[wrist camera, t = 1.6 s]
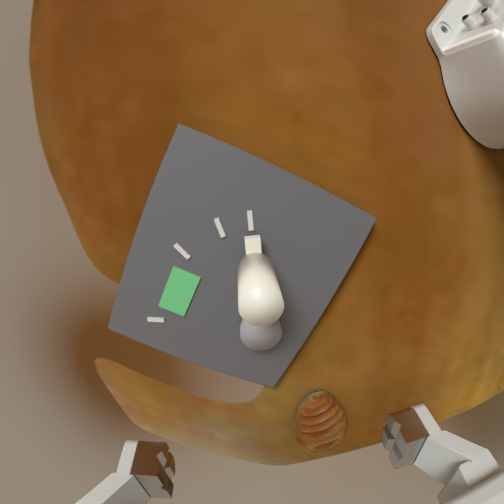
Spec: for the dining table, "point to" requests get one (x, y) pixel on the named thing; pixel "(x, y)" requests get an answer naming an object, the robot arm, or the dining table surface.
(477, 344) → the dining table surface
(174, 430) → the dining table surface
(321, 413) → the pastry
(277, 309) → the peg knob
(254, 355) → the dial plate
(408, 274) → the dining table surface
